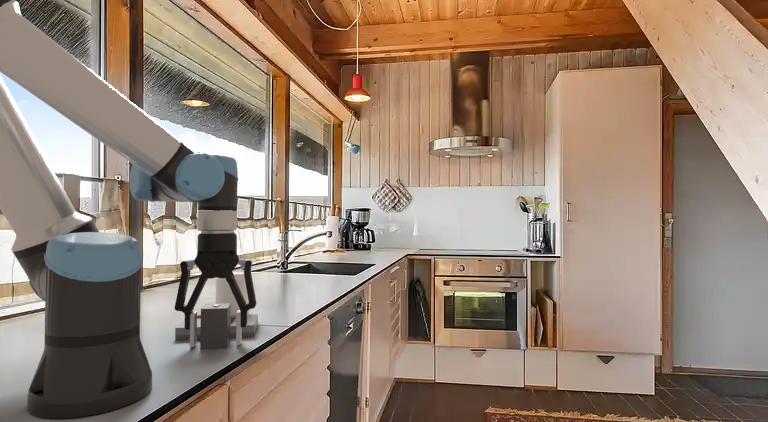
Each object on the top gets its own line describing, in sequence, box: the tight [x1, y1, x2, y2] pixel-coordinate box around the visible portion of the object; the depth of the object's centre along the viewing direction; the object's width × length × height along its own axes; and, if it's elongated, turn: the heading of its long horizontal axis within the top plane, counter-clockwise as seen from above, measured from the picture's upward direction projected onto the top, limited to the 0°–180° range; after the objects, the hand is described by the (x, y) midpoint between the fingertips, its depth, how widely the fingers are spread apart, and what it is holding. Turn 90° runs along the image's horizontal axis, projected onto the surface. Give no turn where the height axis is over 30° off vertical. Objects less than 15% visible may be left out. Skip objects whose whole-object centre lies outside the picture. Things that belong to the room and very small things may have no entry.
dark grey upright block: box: [199, 303, 231, 351], centre depth 92 cm, size 5×5×8 cm
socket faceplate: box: [174, 313, 259, 341], centre depth 102 cm, size 11×16×3 cm
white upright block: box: [214, 270, 251, 315], centre depth 113 cm, size 8×8×12 cm
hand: (216, 344), depth 92 cm, fingers open, 8 cm apart
